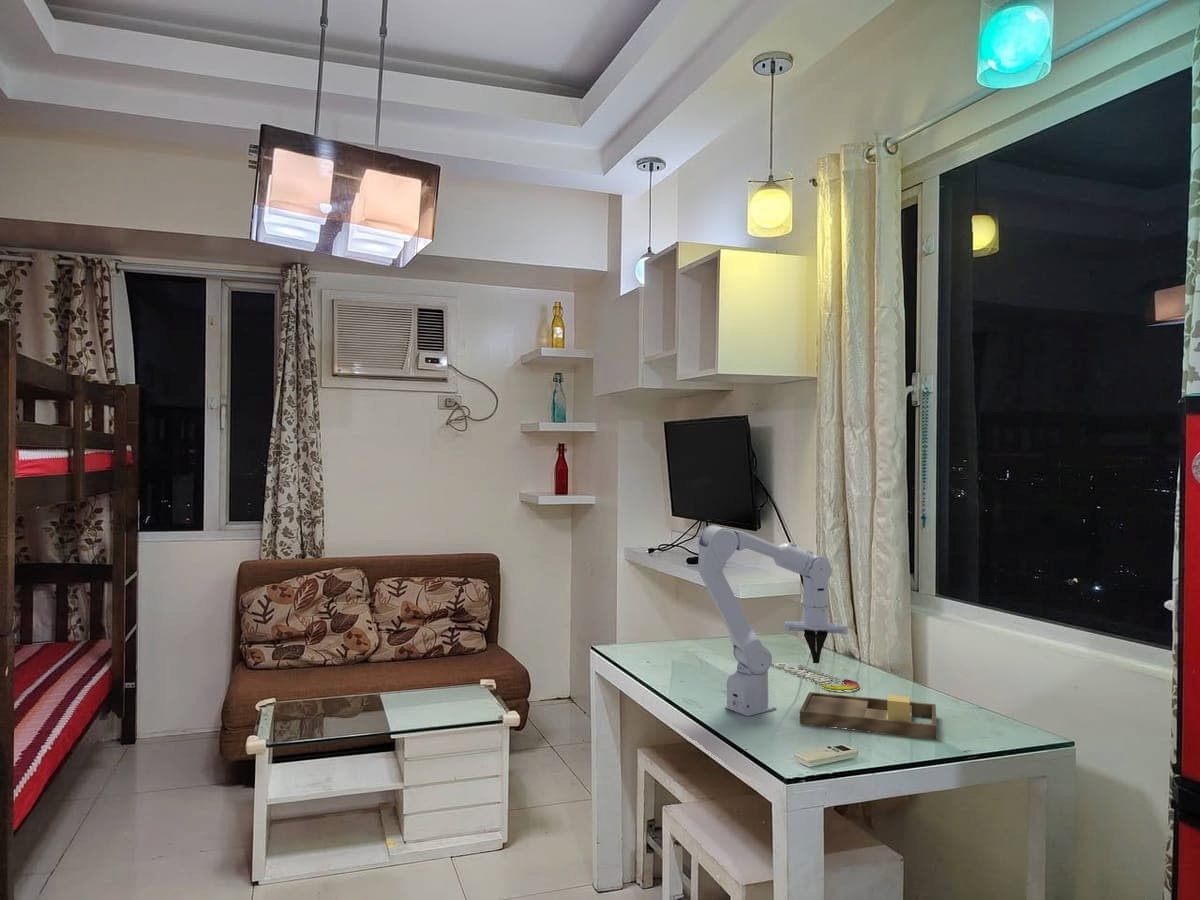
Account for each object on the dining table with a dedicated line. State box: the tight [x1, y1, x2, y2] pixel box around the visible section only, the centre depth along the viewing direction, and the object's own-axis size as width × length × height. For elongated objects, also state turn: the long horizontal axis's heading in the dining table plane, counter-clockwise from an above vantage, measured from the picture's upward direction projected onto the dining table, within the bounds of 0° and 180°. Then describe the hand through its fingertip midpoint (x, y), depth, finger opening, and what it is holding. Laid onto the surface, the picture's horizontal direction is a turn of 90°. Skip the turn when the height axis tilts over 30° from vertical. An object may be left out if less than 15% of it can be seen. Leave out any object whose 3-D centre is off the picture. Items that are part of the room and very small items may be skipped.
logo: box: [770, 662, 860, 691], centre depth 219 cm, size 29×1×10 cm
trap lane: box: [799, 691, 938, 740], centre depth 184 cm, size 28×16×3 cm, turn 68°
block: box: [887, 694, 911, 721], centre depth 179 cm, size 4×4×4 cm
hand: (816, 662), depth 196 cm, fingers closed
